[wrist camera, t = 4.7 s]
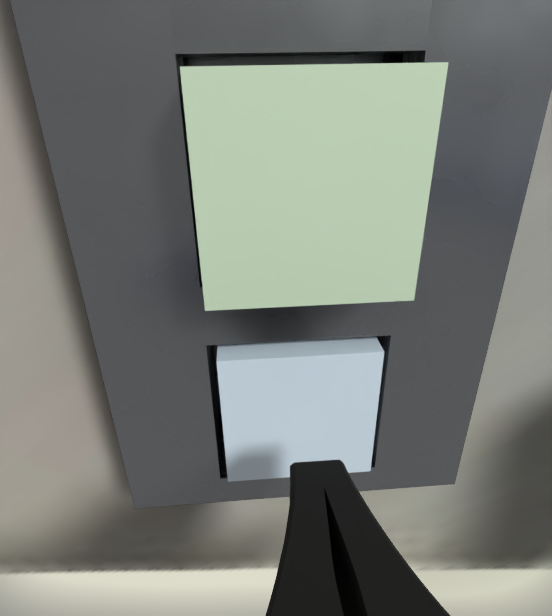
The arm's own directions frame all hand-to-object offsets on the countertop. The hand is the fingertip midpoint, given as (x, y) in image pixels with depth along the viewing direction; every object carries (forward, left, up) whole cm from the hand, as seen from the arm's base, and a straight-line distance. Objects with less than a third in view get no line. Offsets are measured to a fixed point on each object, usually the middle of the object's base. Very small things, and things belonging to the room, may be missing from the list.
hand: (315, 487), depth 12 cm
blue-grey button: (0, 0, -6) cm, 6 cm away
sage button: (0, -8, -4) cm, 9 cm away
